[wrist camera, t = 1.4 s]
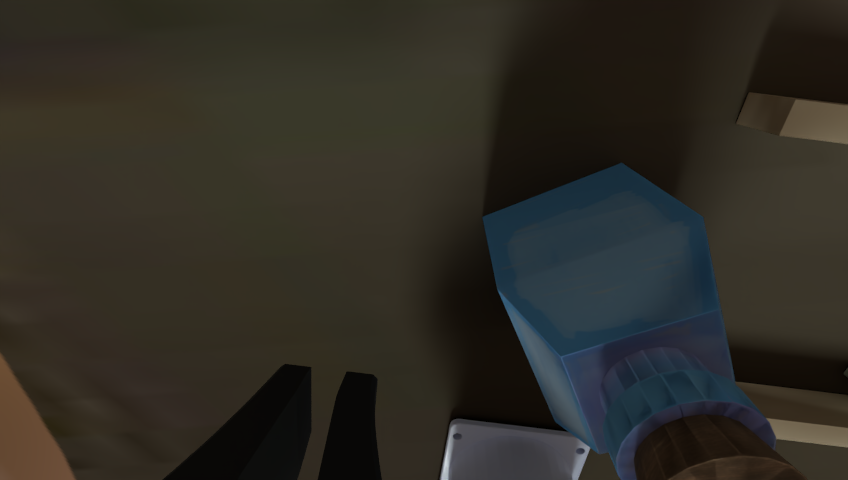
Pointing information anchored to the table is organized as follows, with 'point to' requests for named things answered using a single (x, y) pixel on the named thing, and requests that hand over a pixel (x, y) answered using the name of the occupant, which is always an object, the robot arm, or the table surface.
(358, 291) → the table surface
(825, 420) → the walled pen
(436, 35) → the table surface
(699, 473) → the perfume bottle
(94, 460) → the table surface
